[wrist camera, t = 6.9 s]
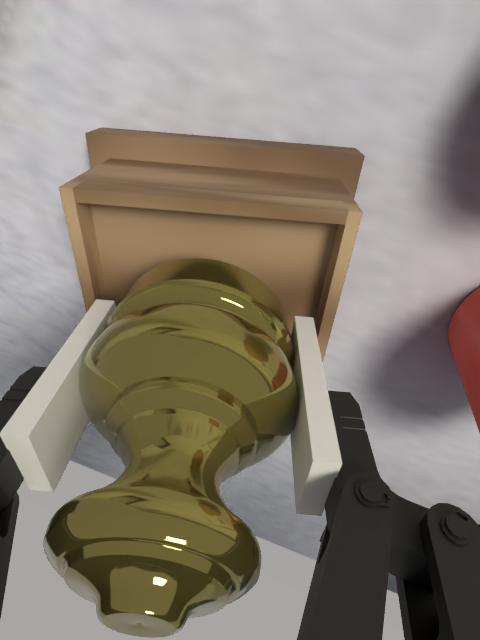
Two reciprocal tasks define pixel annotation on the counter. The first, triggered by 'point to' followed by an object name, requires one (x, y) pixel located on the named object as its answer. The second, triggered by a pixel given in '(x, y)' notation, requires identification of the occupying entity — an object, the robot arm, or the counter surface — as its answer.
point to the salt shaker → (177, 445)
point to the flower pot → (468, 348)
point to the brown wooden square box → (216, 214)
